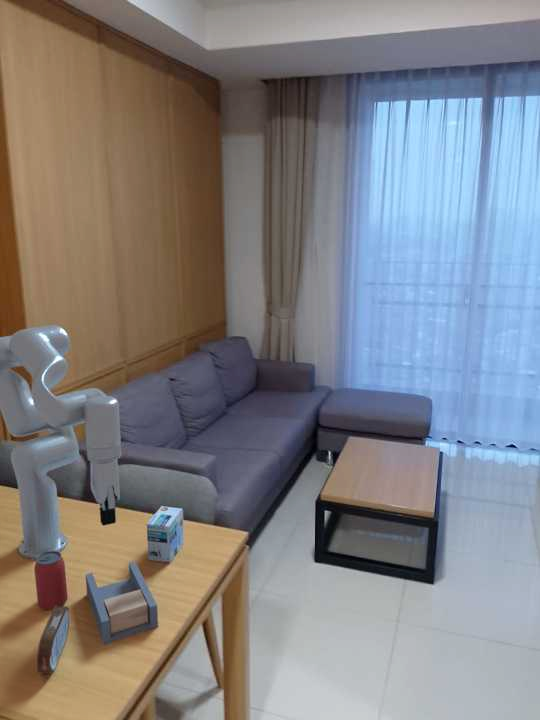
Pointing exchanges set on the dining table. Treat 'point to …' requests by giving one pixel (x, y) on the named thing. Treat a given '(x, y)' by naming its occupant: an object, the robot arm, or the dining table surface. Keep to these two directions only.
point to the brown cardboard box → (126, 611)
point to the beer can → (50, 580)
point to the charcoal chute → (116, 589)
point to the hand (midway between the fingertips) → (108, 522)
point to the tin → (53, 640)
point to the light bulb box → (165, 534)
